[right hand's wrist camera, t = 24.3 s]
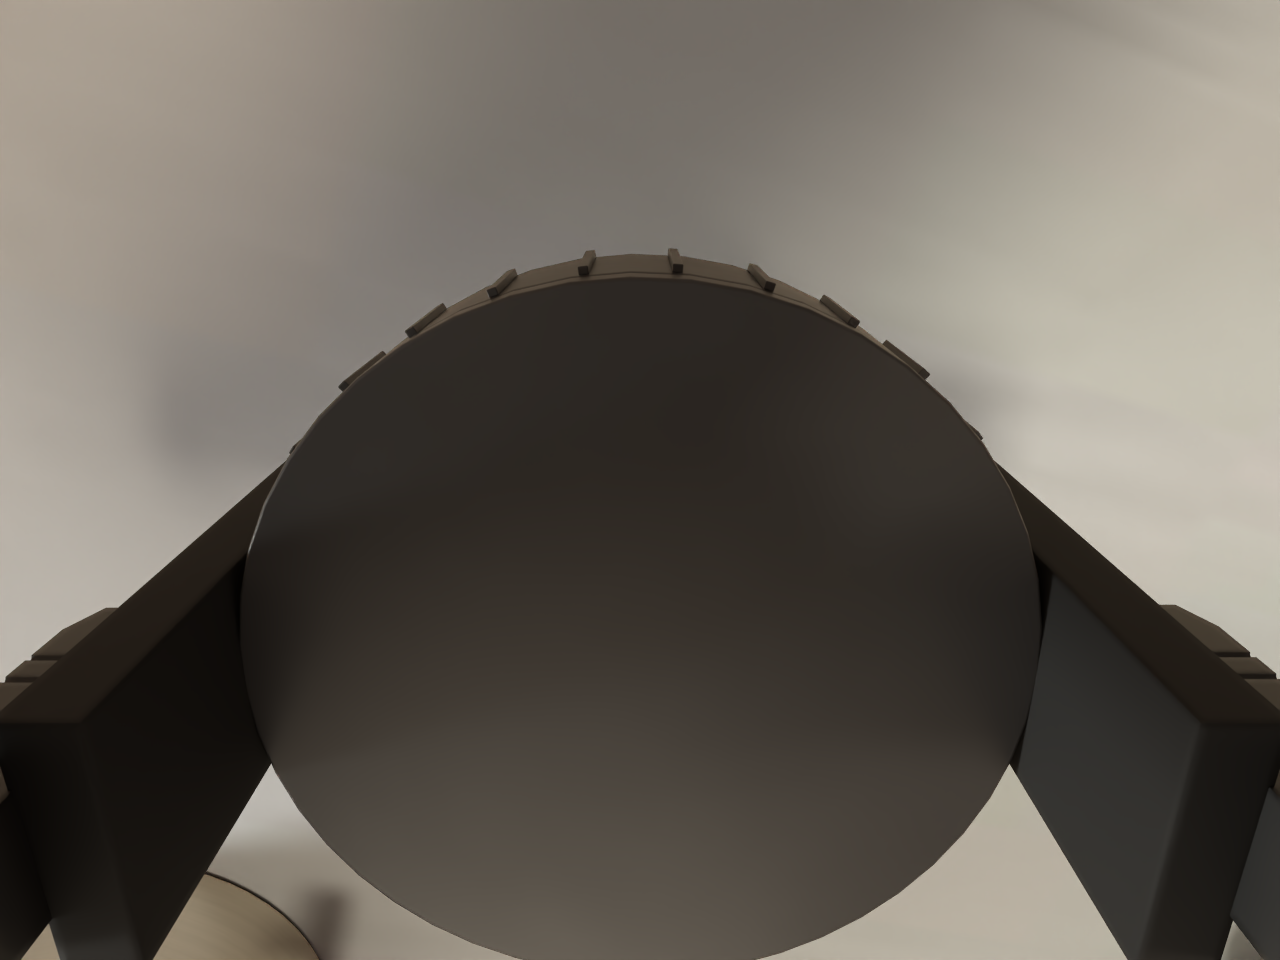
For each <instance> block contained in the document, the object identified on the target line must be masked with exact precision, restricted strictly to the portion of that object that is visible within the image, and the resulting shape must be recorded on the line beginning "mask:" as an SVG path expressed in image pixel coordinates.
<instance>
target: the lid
mask: <svg viewBox="0 0 1280 960" xmlns="http://www.w3.org/2000/svg"><path fill="white" fill-rule="evenodd" d="M859 323H860V321H859V320H858V319H857V318H855V317H854V316H853V315H851V314H850V313H849V312H848V311H846V310H845V309H844V308H842V307H841V306H840V305H838V304H837V303H836V302H835V301H833V300H832V299H831V298H829V297H827V296H825V295H823V296H822V298H821V300H818V299H816V298H814V297H812V296H810V295H808V294H806V293H804V292H802V291H799V290H797V289H795V288H793V287H791V286H789V285H787V284H785V283H783V282H781V281H779V280H776V279H773V278H770V277H769V276H768V275H767V274H765V273H764V272H763V271H762V270H761V269H760V268H759V267H758V266H757V265H754V264H751V263H750V264H749V266H748V269H747V270H745V269H742V268H739V267H736V266H733V265H728V264H722V263H717V262H711V261H706V260H700V259H695V258H689V257H684V256H680V255H679V252H678V249H671V248H669V249H668V256H665V255H643V254H626V255H615V256H604V257H596V255H595V250H591V251H586V252H585V254H584V256H583V258H582V259H577V260H573V261H569V262H564V263H560V264H555V265H551V266H547V267H542V268H538V269H534V270H531V271H528V272H525V273H523V274H520V275H517V272H516V270H515V269H512V270H509V271H507V272H506V273H505V274H504V275H503V276H501V277H500V278H499V279H498V280H497V281H496V282H495V283H494V284H493V285H491V286H488V287H486V288H484V289H482V290H480V291H478V292H477V293H475V294H473V295H471V296H469V297H467V298H466V299H464V300H462V301H460V302H458V303H456V304H455V305H453V306H451V307H449V308H446V307H445V305H444V304H443V303H442V304H440V305H439V306H437V307H436V308H434V309H433V310H432V311H430V312H429V313H428V314H427V315H425V316H424V317H423V318H421V319H420V320H419V321H417V322H416V323H415V324H414V325H412V326H411V327H410V328H408V329H407V330H406V331H405V333H406V334H407V335H408V337H407V338H406V339H405V340H404V341H402V342H401V343H400V344H399V345H397V346H396V347H395V348H394V349H392V350H391V351H390V352H389V353H387V354H385V353H384V352H383V351H382V352H380V353H379V354H378V355H377V356H375V357H374V358H373V359H371V360H370V361H369V362H368V363H366V364H365V365H364V366H362V367H361V368H360V369H359V370H357V371H356V372H355V373H353V374H352V375H351V376H350V377H348V378H347V379H346V380H344V381H343V382H342V383H341V384H340V385H339V387H338V388H339V389H341V390H342V391H343V392H342V393H341V394H340V395H339V396H338V397H337V398H336V399H335V400H334V401H333V402H332V403H331V404H330V405H329V406H328V407H327V408H326V409H325V410H324V411H323V412H322V413H321V414H320V415H319V416H318V418H317V419H316V420H315V422H314V423H313V424H312V426H311V427H310V429H309V430H308V431H307V433H306V434H305V435H304V437H303V438H302V439H301V440H300V441H299V442H297V443H296V444H295V445H294V446H293V447H292V449H291V451H290V452H289V453H290V456H289V457H288V458H287V460H286V462H285V464H284V466H283V468H282V470H281V472H280V474H279V475H278V477H277V479H276V481H275V483H274V485H273V487H272V489H271V491H270V493H269V494H268V496H267V498H266V500H265V502H264V504H263V507H262V510H261V513H260V516H259V519H258V522H257V525H256V528H255V531H254V534H253V537H252V540H251V543H250V545H249V548H248V553H247V559H246V565H245V570H244V576H243V582H242V587H241V593H240V622H239V647H240V653H241V658H242V664H243V670H244V676H245V682H246V687H247V693H248V697H249V702H250V707H251V711H252V715H253V718H254V722H255V725H256V729H257V732H258V734H259V737H260V739H261V741H262V743H263V746H264V748H265V750H266V752H267V755H268V757H269V759H270V761H271V764H272V766H273V768H274V770H275V772H276V774H277V776H278V777H279V779H280V781H281V782H282V784H283V785H284V787H285V789H286V790H287V792H288V793H289V795H290V797H291V798H292V800H293V802H294V803H295V805H296V806H297V808H298V810H299V811H300V812H301V813H302V815H303V816H304V817H305V818H306V820H307V821H308V822H309V823H310V824H311V826H312V827H313V828H314V829H315V831H316V832H317V833H318V834H319V835H320V837H321V838H322V839H323V840H324V842H325V843H326V844H327V845H328V846H329V847H330V848H331V849H332V850H333V851H334V852H335V853H336V854H337V855H338V856H339V857H340V858H341V859H342V860H344V861H345V862H346V863H347V864H348V865H349V866H350V867H351V868H352V869H353V870H354V871H355V872H356V873H357V874H358V875H359V876H361V877H362V878H363V879H365V880H366V881H367V882H368V883H370V884H371V885H372V886H374V887H375V888H376V889H378V890H379V891H380V892H382V893H383V894H384V895H386V896H387V897H388V898H390V899H391V900H392V901H394V902H395V903H397V904H398V905H400V906H402V907H403V908H405V909H407V910H409V911H410V912H412V913H414V914H415V915H417V916H419V917H420V918H422V919H424V920H425V921H427V922H429V923H430V924H432V925H434V926H436V927H438V928H441V929H443V930H445V931H447V932H449V933H452V934H454V935H456V936H458V937H460V938H462V939H465V940H467V941H469V942H471V943H474V944H476V945H479V946H482V947H485V948H488V949H491V950H494V951H497V952H500V953H503V954H506V955H509V956H512V957H515V958H519V959H523V960H756V959H760V958H764V957H768V956H771V955H775V954H779V953H782V952H784V951H787V950H790V949H792V948H795V947H798V946H800V945H803V944H806V943H808V942H811V941H813V940H816V939H819V938H821V937H823V936H825V935H827V934H829V933H831V932H833V931H835V930H837V929H839V928H841V927H843V926H845V925H847V924H849V923H851V922H853V921H855V920H857V919H859V918H861V917H863V916H864V915H866V914H867V913H869V912H871V911H872V910H874V909H875V908H877V907H878V906H880V905H881V904H883V903H884V902H886V901H888V900H889V899H891V898H892V897H894V896H895V895H897V894H898V893H900V892H901V891H902V890H903V889H905V888H906V887H907V886H908V885H909V884H911V883H912V882H913V881H914V880H916V879H917V878H918V877H919V876H920V875H922V874H923V873H924V872H925V871H926V870H928V869H929V868H930V867H931V866H933V865H934V864H935V863H936V862H937V860H938V859H939V858H940V857H941V856H942V855H943V854H944V853H945V852H946V851H947V850H948V849H949V848H950V847H951V846H952V845H953V844H954V843H955V842H956V841H957V840H958V839H959V838H960V837H961V836H962V834H963V833H964V832H965V831H966V829H967V828H968V827H969V825H970V824H971V823H972V821H973V820H974V819H975V817H976V816H977V815H978V813H979V812H980V811H981V809H982V808H983V807H984V805H985V804H986V803H987V801H988V800H989V799H990V797H991V795H992V794H993V792H994V790H995V788H996V787H997V785H998V783H999V781H1000V779H1001V778H1002V776H1003V774H1004V772H1005V770H1006V769H1007V767H1008V765H1009V763H1010V762H1011V760H1012V757H1013V755H1014V752H1015V750H1016V747H1017V745H1018V742H1019V740H1020V737H1021V735H1022V732H1023V729H1024V727H1025V724H1026V722H1027V719H1028V715H1029V710H1030V705H1031V699H1032V694H1033V689H1034V684H1035V679H1036V674H1037V667H1038V661H1039V655H1040V649H1041V637H1042V618H1041V603H1040V589H1039V579H1038V574H1037V570H1036V565H1035V561H1034V557H1033V552H1032V548H1031V544H1030V539H1029V535H1028V532H1027V529H1026V527H1025V524H1024V522H1023V519H1022V517H1021V514H1020V512H1019V509H1018V507H1017V504H1016V502H1015V499H1014V497H1013V494H1012V492H1011V489H1010V487H1009V485H1008V484H1007V482H1006V480H1005V479H1004V477H1003V475H1002V474H1001V472H1000V470H999V469H998V467H997V465H996V464H995V462H994V460H993V458H992V457H991V455H990V453H989V452H988V450H987V448H986V447H985V445H984V443H983V442H982V441H981V440H982V439H983V438H982V436H981V435H980V433H979V432H978V431H977V430H976V429H975V428H973V427H972V426H971V425H970V424H969V423H967V422H966V421H965V420H964V419H963V418H962V417H961V415H960V414H959V413H958V412H957V410H956V409H955V408H954V407H953V406H952V404H951V403H950V402H949V401H948V400H947V399H946V398H944V397H943V396H942V395H941V394H940V393H939V392H938V391H937V390H936V389H934V388H933V387H932V386H931V385H930V384H929V383H928V382H927V381H926V380H925V379H926V378H927V377H928V376H929V375H930V373H928V372H927V371H926V370H925V369H924V368H923V367H922V366H920V365H919V364H918V363H916V362H915V361H914V360H912V359H911V358H910V357H908V356H907V355H906V354H905V353H903V352H902V351H901V350H899V349H898V348H897V347H895V346H894V345H893V344H891V343H890V342H889V341H887V340H886V341H885V342H884V343H883V344H881V343H880V342H879V341H878V340H876V339H875V338H874V337H873V336H871V335H870V334H869V333H868V332H866V331H865V330H864V329H862V328H861V327H859V326H858V324H859Z"/></svg>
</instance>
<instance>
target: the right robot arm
mask: <svg viewBox="0 0 1280 960" xmlns="http://www.w3.org/2000/svg"><path fill="white" fill-rule="evenodd" d="M285 462H286V461H285ZM285 462H284V463H283V464H282V465H281V466H280V467H279V468H277V469H276V470H275V471H274V472H273V473H272V474H271V475H269V476H268V477H267V478H266V479H265V480H264V481H263V482H261V483H260V484H259V485H258V486H257V487H256V488H255V489H253V490H252V491H251V492H250V493H249V494H248V495H247V496H245V497H244V498H243V499H242V500H241V501H240V502H239V503H237V504H236V505H235V506H234V507H233V508H232V509H231V510H229V511H228V512H227V513H226V514H225V515H224V516H223V517H221V518H220V519H219V520H218V521H217V522H216V523H215V524H213V525H212V526H211V527H210V528H209V529H208V530H207V531H205V532H204V533H203V534H202V535H201V536H200V537H199V538H197V539H196V540H195V541H194V542H193V543H192V544H191V545H189V546H188V547H187V548H186V549H185V550H184V551H183V552H181V553H180V554H179V555H178V556H177V557H176V558H175V559H173V560H172V561H171V562H170V563H169V564H168V565H167V566H165V567H164V568H163V569H162V570H161V571H160V572H159V573H157V574H156V575H155V576H154V577H153V578H152V579H151V580H149V581H148V582H147V583H146V584H145V585H144V586H143V587H141V588H140V589H139V590H138V591H137V592H136V593H135V594H133V595H132V596H131V597H130V598H129V599H128V600H127V601H125V602H124V603H123V604H122V605H121V606H120V607H119V608H105V609H103V610H101V611H99V612H97V613H95V614H93V615H91V616H89V617H87V618H85V619H83V620H81V621H79V622H77V623H75V624H73V625H71V626H69V627H67V628H65V629H63V630H62V631H60V632H59V633H58V634H57V635H56V636H54V637H53V638H52V639H51V640H50V641H48V642H47V643H46V644H45V645H44V646H42V647H41V648H40V649H39V650H38V651H36V652H35V653H34V654H33V655H32V659H31V661H24V662H23V663H22V664H21V665H19V666H18V667H17V668H16V669H15V670H13V671H12V672H11V673H10V674H9V675H7V676H6V680H5V683H0V960H21V959H22V958H23V956H24V955H25V954H26V952H27V951H28V950H29V949H30V947H31V946H32V945H33V943H34V942H35V941H36V939H37V938H38V937H39V935H40V934H41V933H42V932H43V930H44V929H45V928H46V926H47V925H48V924H49V926H50V929H51V932H52V936H53V939H54V942H55V945H56V948H57V952H58V955H59V958H60V960H153V959H154V957H155V955H156V954H157V952H158V950H159V949H160V947H161V945H162V944H163V942H164V940H165V939H166V937H167V935H168V934H169V932H170V931H171V929H172V927H173V926H174V924H175V922H176V921H177V919H178V917H179V916H180V914H181V912H182V911H183V909H184V907H185V906H186V904H187V902H188V901H189V899H190V897H191V896H192V894H193V892H194V891H195V889H196V887H197V886H198V884H199V882H200V881H201V879H202V877H203V876H204V874H205V872H206V871H207V869H208V867H209V866H210V864H211V862H212V861H213V859H214V857H215V856H216V854H217V852H218V851H219V849H220V847H221V846H222V844H223V843H224V841H225V839H226V838H227V836H228V834H229V833H230V831H231V829H232V828H233V826H234V824H235V823H236V821H237V819H238V818H239V816H240V814H241V813H242V811H243V809H244V808H245V806H246V804H247V803H248V801H249V799H250V798H251V796H252V794H253V793H254V791H255V789H256V788H257V786H258V784H259V783H260V781H261V779H262V778H263V776H264V774H265V773H266V771H267V769H268V768H269V766H270V764H271V761H270V759H269V757H268V755H267V752H266V750H265V748H264V746H263V743H262V741H261V739H260V737H259V734H258V732H257V729H256V725H255V722H254V718H253V715H252V711H251V707H250V702H249V697H248V693H247V687H246V682H245V676H244V670H243V664H242V658H241V653H240V647H239V622H240V593H241V587H242V582H243V576H244V570H245V565H246V559H247V553H248V548H249V545H250V543H251V540H252V537H253V534H254V531H255V528H256V525H257V522H258V519H259V516H260V513H261V510H262V507H263V504H264V502H265V500H266V498H267V496H268V494H269V493H270V491H271V489H272V487H273V485H274V483H275V481H276V479H277V477H278V475H279V474H280V472H281V470H282V468H283V466H284V464H285ZM994 462H995V461H994ZM995 464H996V465H997V467H998V469H999V470H1000V472H1001V474H1002V475H1003V477H1004V479H1005V480H1006V482H1007V484H1008V485H1009V487H1010V489H1011V492H1012V494H1013V497H1014V499H1015V502H1016V504H1017V507H1018V509H1019V512H1020V514H1021V517H1022V519H1023V522H1024V524H1025V527H1026V529H1027V532H1028V535H1029V539H1030V544H1031V548H1032V552H1033V557H1034V561H1035V565H1036V570H1037V574H1038V579H1039V589H1040V603H1041V618H1042V637H1041V649H1040V655H1039V661H1038V667H1037V674H1036V679H1035V684H1034V689H1033V694H1032V699H1031V705H1030V710H1029V715H1028V719H1027V722H1026V724H1025V727H1024V729H1023V732H1022V735H1021V737H1020V740H1019V742H1018V745H1017V747H1016V750H1015V752H1014V755H1013V757H1012V760H1011V762H1010V763H1009V764H1010V765H1011V767H1012V769H1013V770H1014V772H1015V774H1016V775H1017V777H1018V778H1019V780H1020V782H1021V783H1022V785H1023V787H1024V788H1025V790H1026V792H1027V793H1028V795H1029V797H1030V798H1031V800H1032V802H1033V803H1034V805H1035V807H1036V808H1037V810H1038V812H1039V813H1040V815H1041V817H1042V818H1043V820H1044V822H1045V823H1046V825H1047V827H1048V828H1049V830H1050V832H1051V833H1052V835H1053V837H1054V838H1055V840H1056V842H1057V843H1058V845H1059V847H1060V848H1061V850H1062V852H1063V853H1064V855H1065V857H1066V858H1067V860H1068V861H1069V863H1070V865H1071V866H1072V868H1073V870H1074V871H1075V873H1076V875H1077V876H1078V878H1079V880H1080V881H1081V883H1082V885H1083V886H1084V888H1085V890H1086V891H1087V893H1088V895H1089V896H1090V898H1091V900H1092V901H1093V903H1094V905H1095V906H1096V908H1097V910H1098V911H1099V913H1100V915H1101V916H1102V918H1103V920H1104V921H1105V923H1106V925H1107V926H1108V928H1109V930H1110V931H1111V933H1112V935H1113V936H1114V938H1115V940H1116V941H1117V943H1118V944H1119V946H1120V948H1121V949H1122V951H1123V953H1124V954H1125V956H1126V958H1127V959H1128V960H1221V957H1222V954H1223V951H1224V948H1225V944H1226V941H1227V938H1228V935H1229V931H1230V928H1231V925H1232V922H1233V921H1234V922H1235V923H1236V925H1237V926H1238V927H1239V928H1240V930H1241V931H1242V932H1243V934H1244V935H1245V936H1246V938H1247V939H1248V940H1249V941H1250V943H1251V944H1252V945H1253V947H1254V948H1255V949H1256V951H1257V952H1258V953H1259V954H1260V956H1261V957H1262V959H1261V960H1280V679H1277V678H1276V673H1275V672H1273V671H1272V670H1271V669H1270V668H1269V667H1267V666H1266V665H1265V664H1264V663H1263V662H1261V661H1260V660H1259V659H1258V658H1256V657H1250V652H1249V651H1248V650H1247V649H1246V648H1244V647H1243V646H1242V645H1241V644H1239V643H1238V642H1237V641H1236V640H1235V639H1233V638H1232V637H1231V636H1230V635H1228V634H1227V633H1226V632H1225V631H1224V630H1222V629H1221V628H1220V627H1219V626H1217V625H1215V624H1213V623H1211V622H1209V621H1207V620H1205V619H1203V618H1201V617H1199V616H1197V615H1195V614H1193V613H1191V612H1189V611H1187V610H1185V609H1183V608H1181V607H1179V606H1177V605H1159V604H1157V603H1156V602H1155V601H1154V600H1153V599H1152V598H1151V597H1149V596H1148V595H1147V594H1146V593H1145V592H1144V591H1143V590H1141V589H1140V588H1139V587H1138V586H1137V585H1136V584H1135V583H1133V582H1132V581H1131V580H1130V579H1129V578H1128V577H1127V576H1125V575H1124V574H1123V573H1122V572H1121V571H1120V570H1119V569H1117V568H1116V567H1115V566H1114V565H1113V564H1112V563H1111V562H1109V561H1108V560H1107V559H1106V558H1105V557H1104V556H1103V555H1101V554H1100V553H1099V552H1098V551H1097V550H1096V549H1095V548H1093V547H1092V546H1091V545H1090V544H1089V543H1088V542H1087V541H1085V540H1084V539H1083V538H1082V537H1081V536H1080V535H1079V534H1077V533H1076V532H1075V531H1074V530H1073V529H1072V528H1071V527H1069V526H1068V525H1067V524H1066V523H1065V522H1064V521H1063V520H1061V519H1060V518H1059V517H1058V516H1057V515H1056V514H1055V513H1053V512H1052V511H1051V510H1050V509H1049V508H1048V507H1047V506H1045V505H1044V504H1043V503H1042V502H1041V501H1040V500H1039V499H1037V498H1036V497H1035V496H1034V495H1033V494H1032V493H1031V492H1029V491H1028V490H1027V489H1026V488H1025V487H1024V486H1023V485H1021V484H1020V483H1019V482H1018V481H1017V480H1016V479H1015V478H1013V477H1012V476H1011V475H1010V474H1009V473H1008V472H1007V471H1005V470H1004V469H1003V468H1002V467H1001V466H1000V465H999V464H997V463H996V462H995Z"/></svg>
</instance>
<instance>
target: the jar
mask: <svg viewBox="0 0 1280 960" xmlns="http://www.w3.org/2000/svg"><path fill="white" fill-rule="evenodd" d="M21 960H60V958H59V955H58V952H57V948H56V945H55V942H54V939H53V936H52V932H51V929H50V926H49V924H48V925H47V926H46V928H45V929H44V930H43V932H42V933H41V934H40V935H39V937H38V938H37V939H36V941H35V942H34V943H33V945H32V946H31V947H30V949H29V950H28V951H27V952H26V954H25V955H24V956H23V958H22V959H21ZM153 960H319V958H318V957H317V955H316V953H315V952H314V950H313V948H312V947H311V945H310V944H309V942H308V941H307V940H306V939H305V937H304V936H303V935H302V934H301V933H300V931H299V930H298V929H297V928H296V927H295V926H294V925H293V924H292V923H291V922H290V921H289V920H288V919H287V918H285V917H284V916H283V915H282V914H281V913H279V912H278V911H277V910H275V909H274V908H273V907H272V906H270V905H269V904H268V903H266V902H264V901H263V900H261V899H259V898H258V897H256V896H255V895H253V894H251V893H250V892H248V891H246V890H244V889H241V888H239V887H237V886H235V885H233V884H231V883H229V882H226V881H224V880H221V879H218V878H215V877H213V876H210V875H207V874H204V876H203V877H202V879H201V881H200V882H199V884H198V886H197V887H196V889H195V891H194V892H193V894H192V896H191V897H190V899H189V901H188V902H187V904H186V906H185V907H184V909H183V911H182V912H181V914H180V916H179V917H178V919H177V921H176V922H175V924H174V926H173V927H172V929H171V931H170V932H169V934H168V935H167V937H166V939H165V940H164V942H163V944H162V945H161V947H160V949H159V950H158V952H157V954H156V955H155V957H154V959H153Z"/></svg>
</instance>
